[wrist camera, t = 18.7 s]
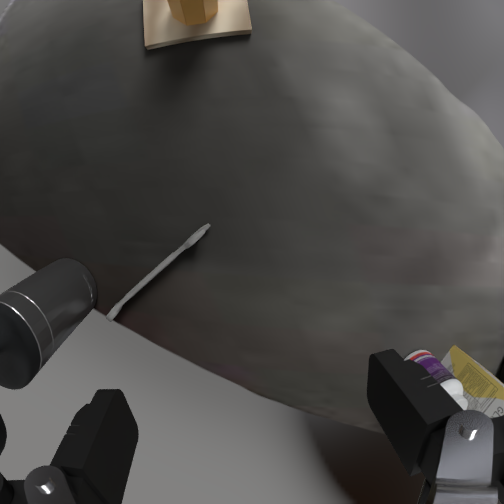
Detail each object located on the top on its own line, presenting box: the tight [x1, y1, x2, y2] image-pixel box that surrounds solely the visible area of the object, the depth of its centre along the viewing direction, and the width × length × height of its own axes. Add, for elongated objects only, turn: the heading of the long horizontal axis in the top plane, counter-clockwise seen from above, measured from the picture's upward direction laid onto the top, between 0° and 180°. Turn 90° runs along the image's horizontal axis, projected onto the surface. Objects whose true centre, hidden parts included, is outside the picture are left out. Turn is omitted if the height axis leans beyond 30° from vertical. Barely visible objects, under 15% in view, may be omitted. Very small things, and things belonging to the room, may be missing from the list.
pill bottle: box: [404, 350, 468, 410], centre depth 42 cm, size 8×8×14 cm
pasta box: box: [441, 345, 504, 418], centre depth 38 cm, size 18×10×28 cm, turn 57°
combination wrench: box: [106, 224, 210, 322], centre depth 41 cm, size 4×1×20 cm
